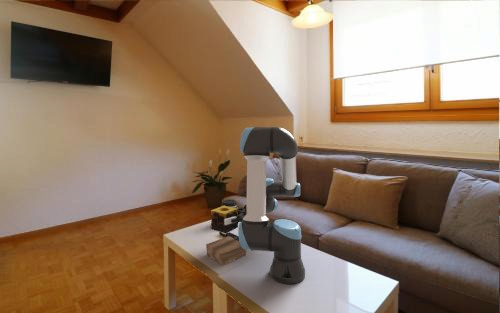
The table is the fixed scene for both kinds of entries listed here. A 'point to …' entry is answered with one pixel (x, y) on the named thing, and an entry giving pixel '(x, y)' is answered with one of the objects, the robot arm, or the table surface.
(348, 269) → the table surface
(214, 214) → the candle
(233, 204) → the coffee cup
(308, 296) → the table surface
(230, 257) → the wooden box
